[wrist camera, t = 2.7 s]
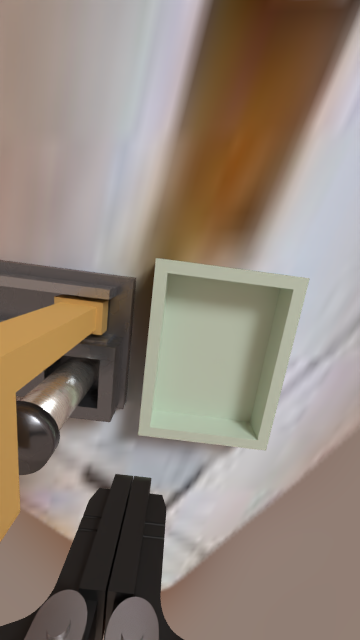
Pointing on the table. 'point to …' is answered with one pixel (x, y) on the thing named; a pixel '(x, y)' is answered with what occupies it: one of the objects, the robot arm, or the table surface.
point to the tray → (217, 352)
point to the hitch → (109, 348)
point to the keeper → (35, 372)
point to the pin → (51, 410)
